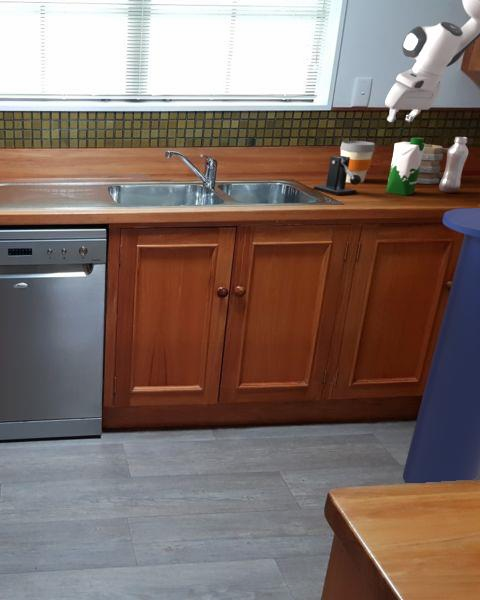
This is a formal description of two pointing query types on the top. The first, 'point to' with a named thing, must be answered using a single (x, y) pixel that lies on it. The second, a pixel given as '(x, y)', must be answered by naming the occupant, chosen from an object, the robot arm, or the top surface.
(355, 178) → the tap lever
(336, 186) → the black lever switch stand
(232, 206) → the top surface
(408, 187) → the milk carton
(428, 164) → the tankard
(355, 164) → the reusable coffee cup
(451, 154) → the silver water bottle
